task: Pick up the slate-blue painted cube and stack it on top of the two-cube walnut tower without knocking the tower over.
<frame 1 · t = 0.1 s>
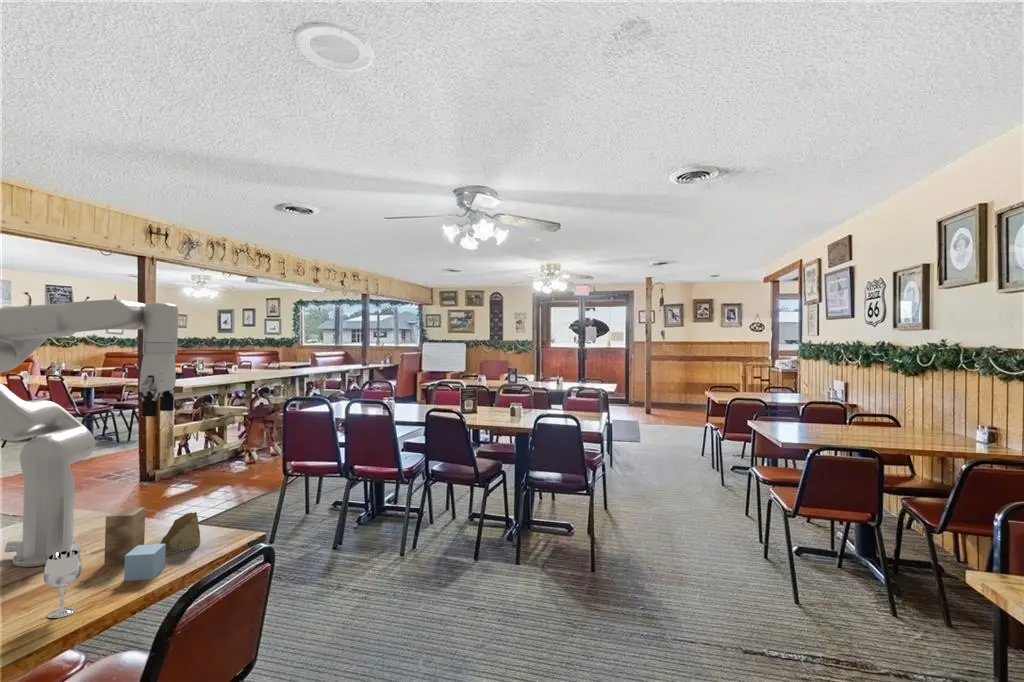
hand: (158, 413, 131), 37 cm above the table, tool pointing down, fingers open, 9 cm apart
blue block: (145, 574, 118), on the table
tower mid: (125, 535, 126), point 6 cm above the table, touching tower base
rock: (179, 550, 132), on the table
wineglass: (61, 614, 101), on the table
tower base: (124, 558, 126), on the table, touching tower mid
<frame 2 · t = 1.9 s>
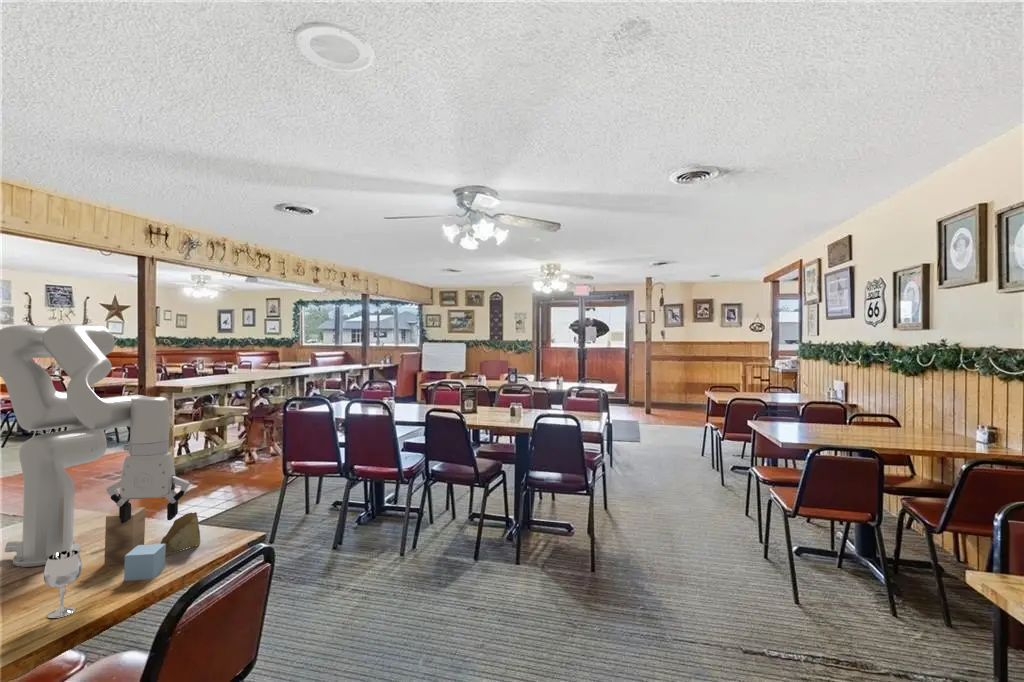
hand: (148, 519, 118), 13 cm above the table, tool pointing down, fingers open, 9 cm apart
nothing on the table moved.
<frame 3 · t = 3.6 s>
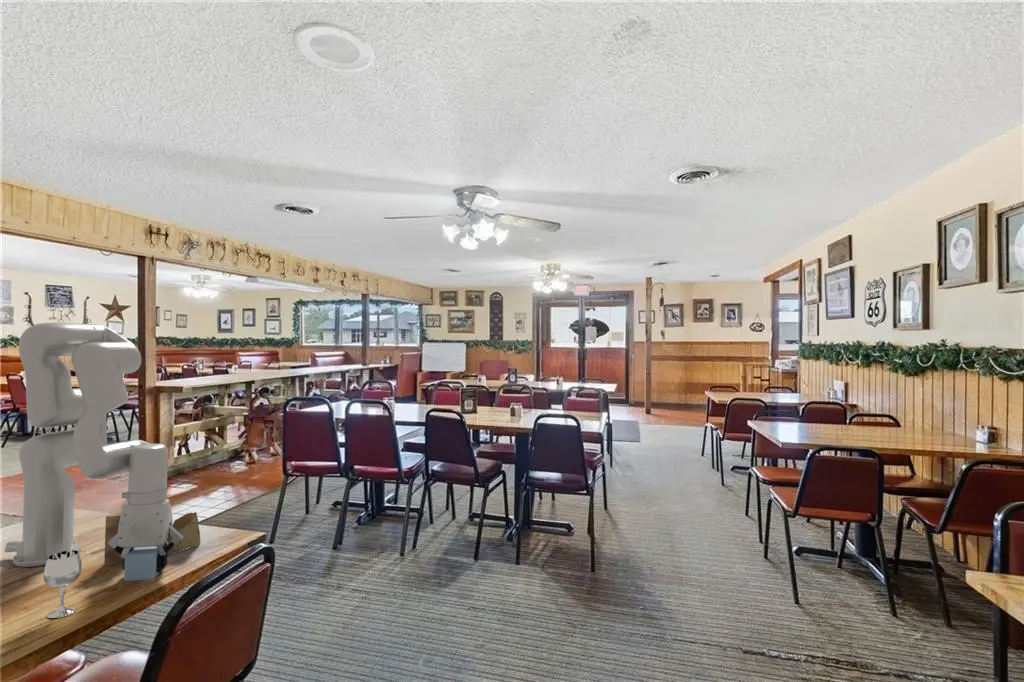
hand: (145, 570, 118), 1 cm above the table, tool pointing down, fingers closed on blue block, 6 cm apart
blue block: (145, 574, 118), on the table, touching gripper
everything else where it was.
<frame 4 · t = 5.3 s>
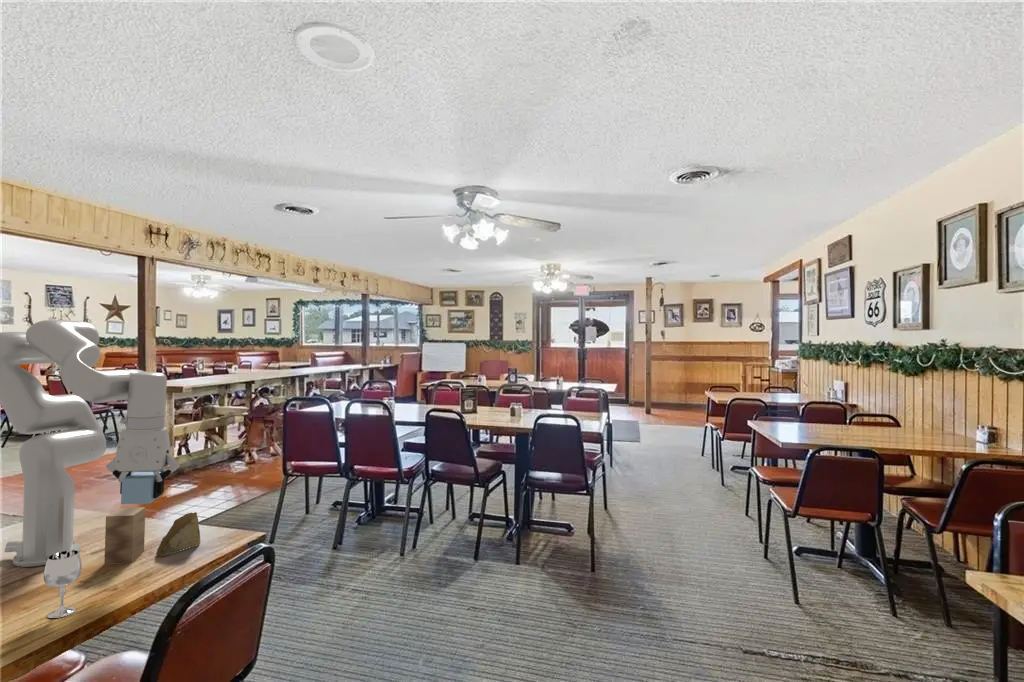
hand: (142, 496, 120), 18 cm above the table, tool pointing down, fingers closed on blue block, 6 cm apart
blue block: (141, 499, 120), point 17 cm above the table, touching gripper
everything else where it was.
when the fingers open (13 cm above the table, at t = 7.4 s): blue block stays where it is, resting on tower mid.
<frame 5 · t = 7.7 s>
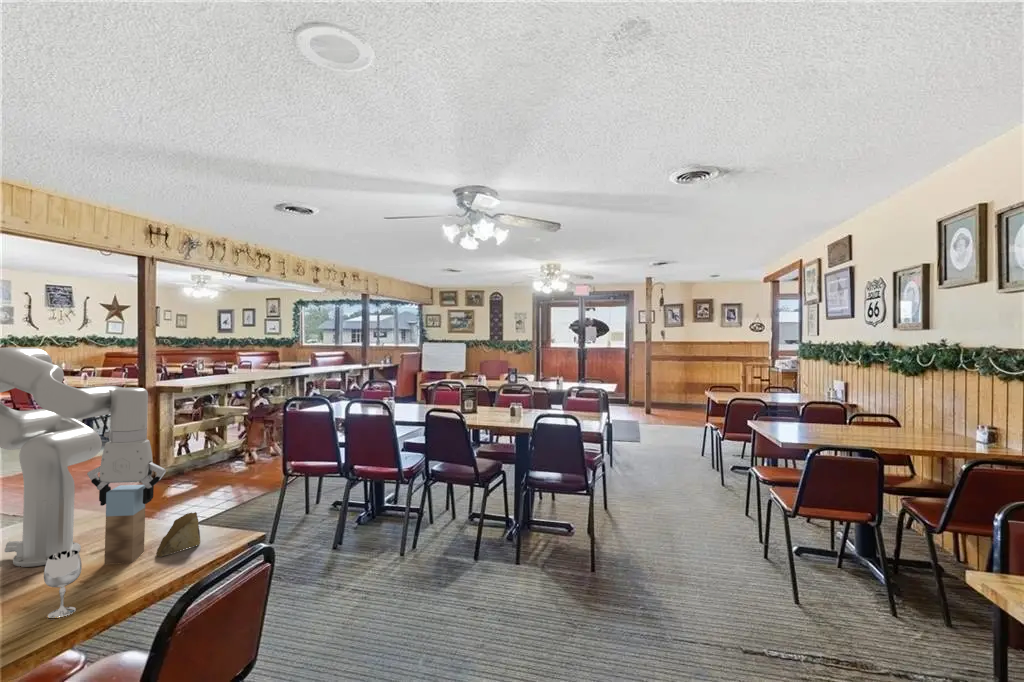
hand: (126, 502, 126), 14 cm above the table, tool pointing down, fingers open, 9 cm apart
blue block: (126, 511, 126), point 12 cm above the table, touching tower mid
tower mid: (125, 535, 126), point 6 cm above the table, touching blue block, tower base
everything else where it was.
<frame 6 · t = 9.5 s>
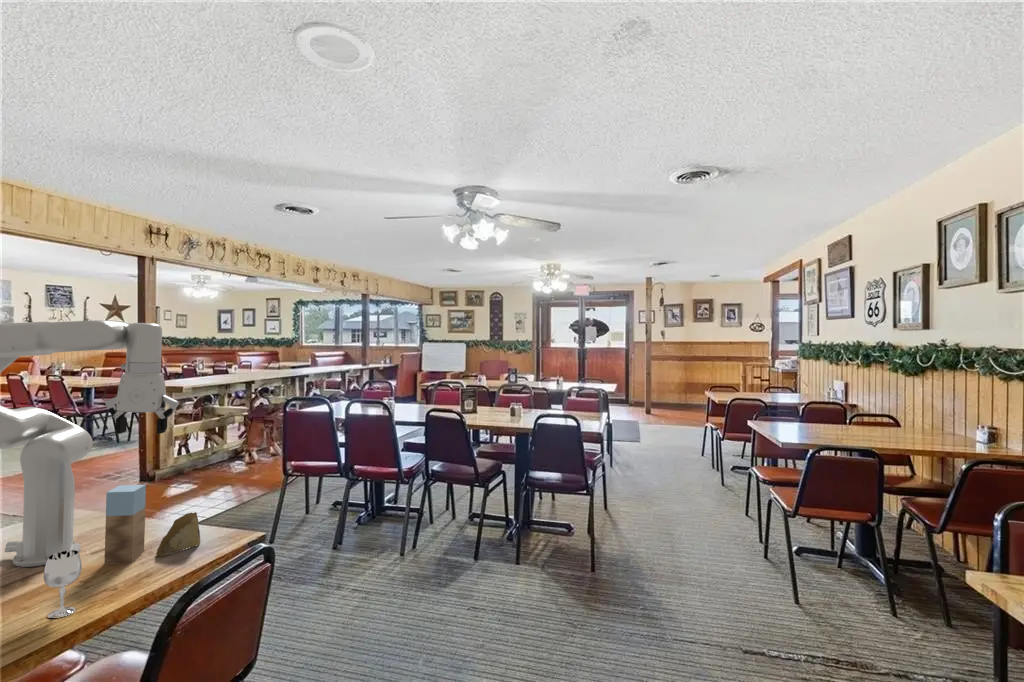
hand: (141, 432, 131), 31 cm above the table, tool pointing down, fingers open, 9 cm apart
nothing on the table moved.
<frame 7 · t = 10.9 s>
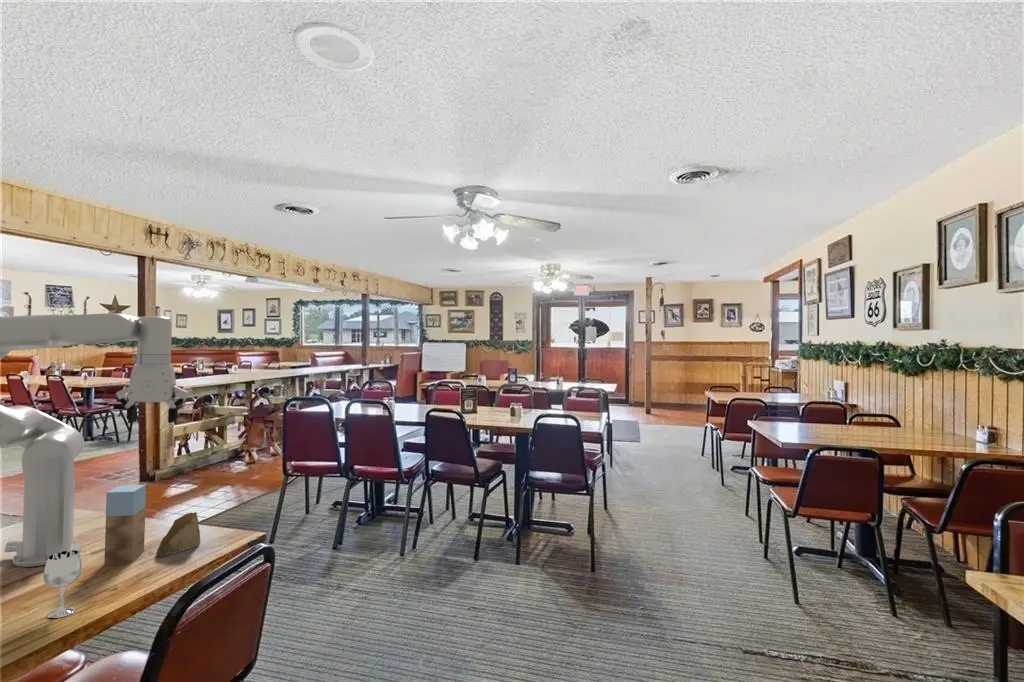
hand: (152, 422, 136), 33 cm above the table, tool pointing down, fingers open, 9 cm apart
nothing on the table moved.
at the end: blue block 0.1 cm off-centre on the tower mid, point 6.0 cm above the tower mid's base; tower mid 0.0 cm off-centre on the tower base, point 6.0 cm above the tower base's base; the gripper is holding nothing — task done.
